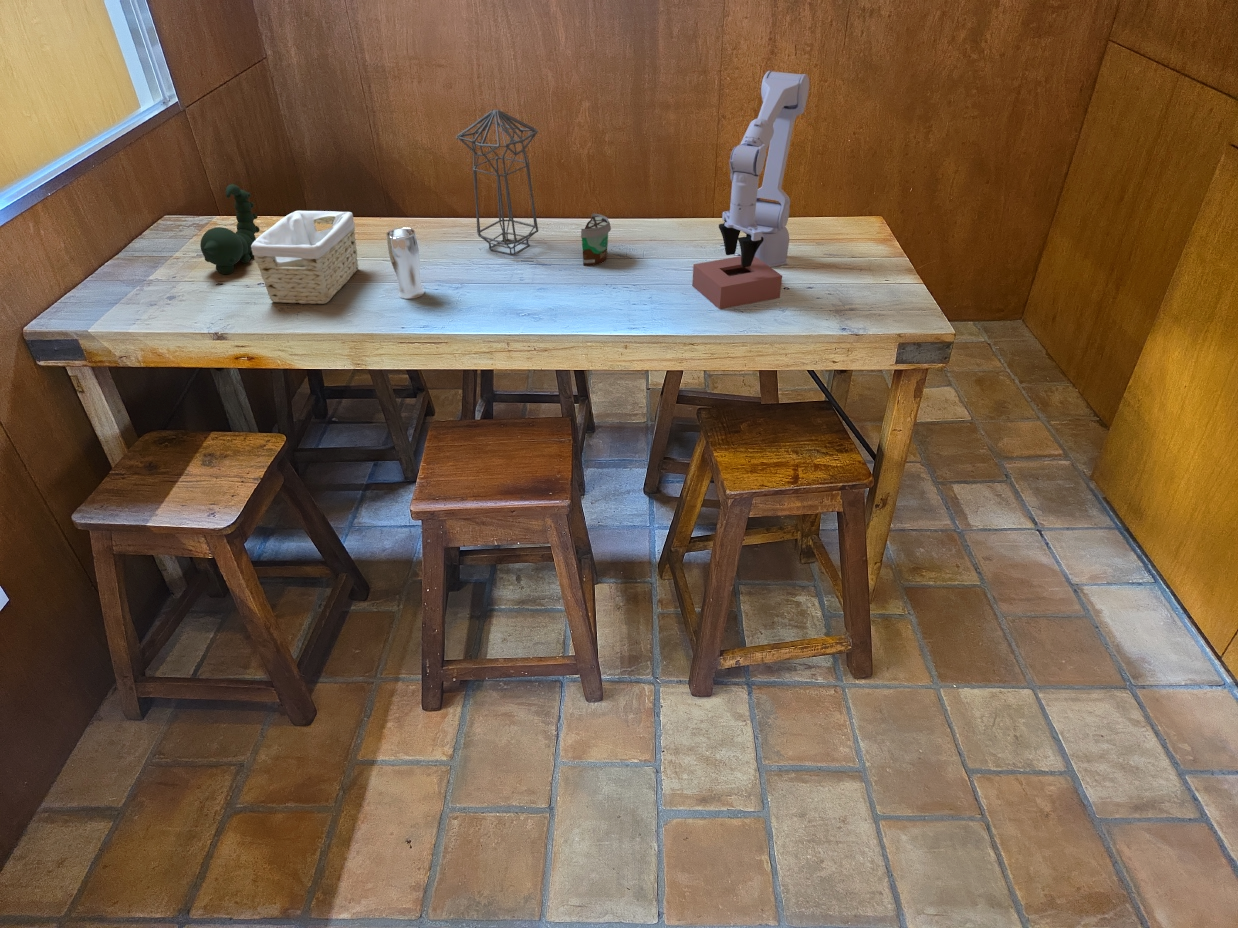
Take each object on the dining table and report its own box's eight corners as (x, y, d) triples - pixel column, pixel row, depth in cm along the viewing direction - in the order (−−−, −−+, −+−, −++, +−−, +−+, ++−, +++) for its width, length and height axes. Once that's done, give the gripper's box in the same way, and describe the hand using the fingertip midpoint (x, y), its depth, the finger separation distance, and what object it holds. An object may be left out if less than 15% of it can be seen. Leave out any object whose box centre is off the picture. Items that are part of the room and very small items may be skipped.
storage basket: (306, 265, 202) (291, 208, 193) (367, 267, 201) (355, 210, 192) (264, 306, 183) (246, 245, 174) (331, 308, 182) (316, 247, 173)
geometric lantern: (549, 244, 212) (540, 107, 190) (513, 265, 202) (499, 123, 180) (504, 232, 219) (490, 98, 197) (466, 252, 209) (448, 113, 187)
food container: (605, 269, 199) (605, 231, 193) (582, 268, 200) (580, 229, 194) (615, 251, 208) (615, 214, 202) (593, 249, 209) (592, 212, 203)
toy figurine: (241, 252, 213) (195, 282, 192) (222, 179, 203) (171, 203, 182) (275, 252, 213) (232, 283, 192) (258, 180, 203) (211, 203, 182)
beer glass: (400, 302, 184) (389, 240, 175) (393, 291, 189) (381, 230, 180) (429, 296, 187) (419, 235, 177) (421, 285, 191) (411, 225, 182)
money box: (749, 275, 195) (751, 254, 192) (779, 297, 185) (782, 275, 182) (692, 285, 191) (693, 264, 187) (719, 309, 180) (721, 287, 177)
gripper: (712, 194, 179) (708, 251, 187) (743, 215, 168) (738, 274, 177) (739, 190, 181) (734, 247, 189) (772, 210, 170) (765, 269, 179)
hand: (738, 260), depth 183 cm, fingers open, 7 cm apart
